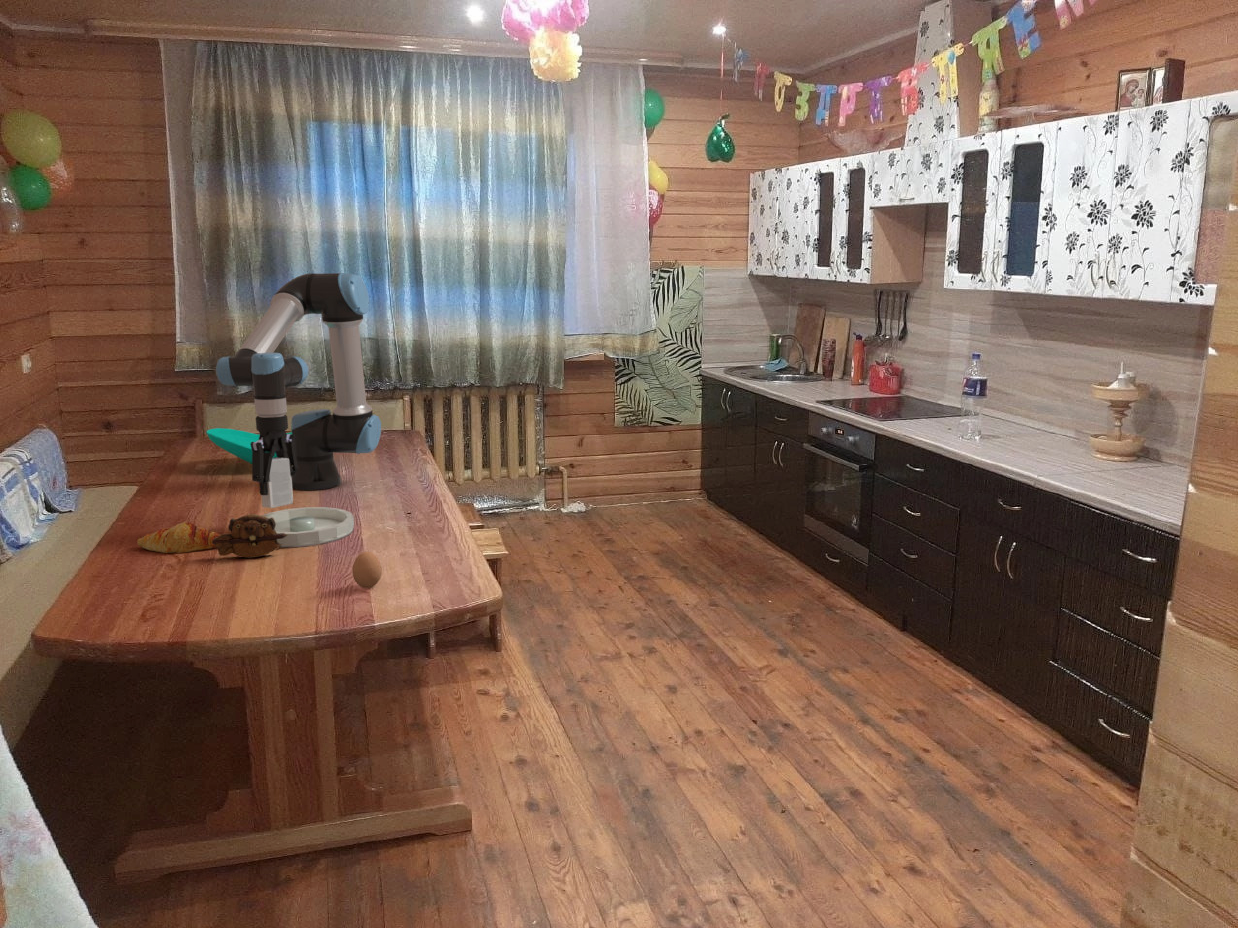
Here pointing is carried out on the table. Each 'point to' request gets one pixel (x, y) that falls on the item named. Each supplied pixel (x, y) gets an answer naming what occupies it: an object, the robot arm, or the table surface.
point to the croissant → (179, 539)
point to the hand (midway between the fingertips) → (277, 503)
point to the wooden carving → (249, 537)
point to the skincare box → (280, 482)
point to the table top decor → (235, 441)
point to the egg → (366, 570)
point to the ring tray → (322, 522)
